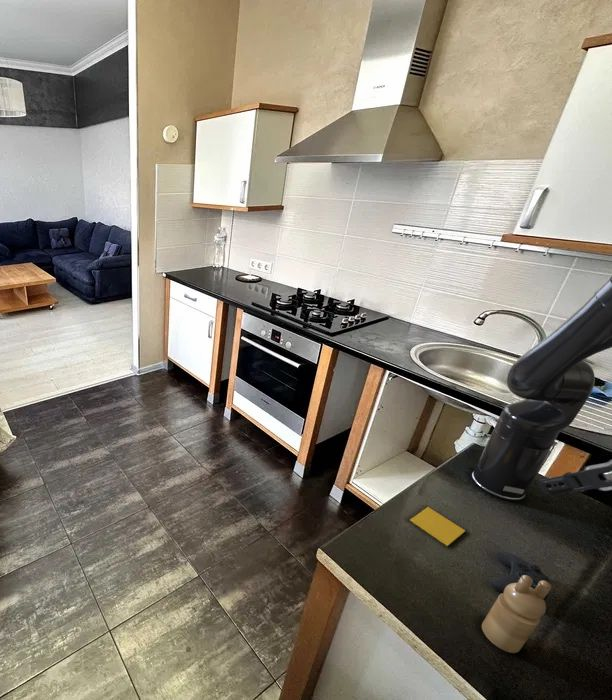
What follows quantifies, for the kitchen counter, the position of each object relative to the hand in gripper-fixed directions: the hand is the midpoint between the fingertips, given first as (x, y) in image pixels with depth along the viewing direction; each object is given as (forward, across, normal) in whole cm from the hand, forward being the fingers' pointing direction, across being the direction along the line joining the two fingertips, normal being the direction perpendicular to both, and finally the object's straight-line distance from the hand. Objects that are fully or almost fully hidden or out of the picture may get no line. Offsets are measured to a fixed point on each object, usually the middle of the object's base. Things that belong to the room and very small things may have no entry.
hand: (557, 484), depth 59 cm
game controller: (+16, -3, +14) cm, 21 cm away
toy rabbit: (+14, +9, +19) cm, 25 cm away
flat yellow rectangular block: (+24, -1, +4) cm, 24 cm away
